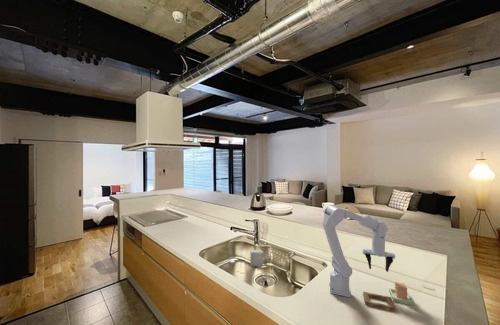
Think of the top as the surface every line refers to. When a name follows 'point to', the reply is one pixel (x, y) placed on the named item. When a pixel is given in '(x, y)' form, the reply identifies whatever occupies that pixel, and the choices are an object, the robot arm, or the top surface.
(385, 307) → the pocket board
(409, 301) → the tray
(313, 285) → the top surface
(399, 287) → the block
